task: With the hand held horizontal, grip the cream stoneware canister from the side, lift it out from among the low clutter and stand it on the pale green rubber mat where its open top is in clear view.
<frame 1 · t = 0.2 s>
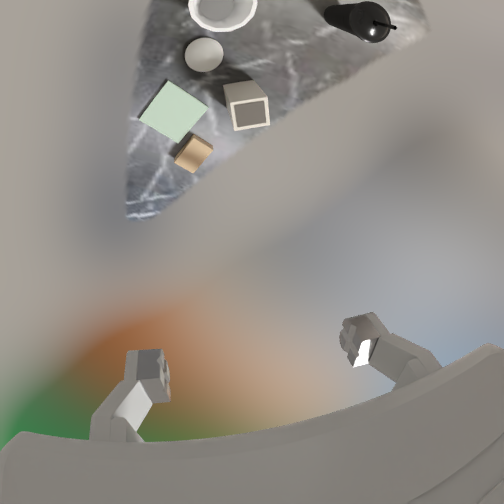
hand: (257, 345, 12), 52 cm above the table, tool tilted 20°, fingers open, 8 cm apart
canister: (240, 93, 51), on the table
oak block: (193, 150, 59), on the table
foam cup: (216, 5, 36), on the table
white pebble stone: (203, 54, 44), on the table
mat: (173, 112, 51), on the table
drinking cup: (335, 15, 40), on the table
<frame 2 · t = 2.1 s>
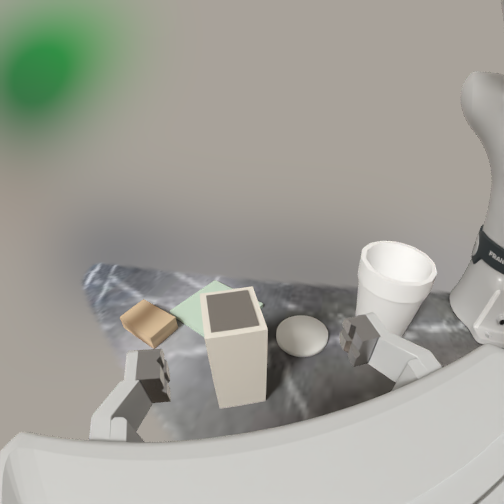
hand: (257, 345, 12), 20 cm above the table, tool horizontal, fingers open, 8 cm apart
canister: (238, 384, 32), on the table
oak block: (150, 329, 40), on the table
foam cup: (373, 340, 36), on the table
white pebble stone: (301, 338, 38), on the table
mat: (216, 310, 43), on the table
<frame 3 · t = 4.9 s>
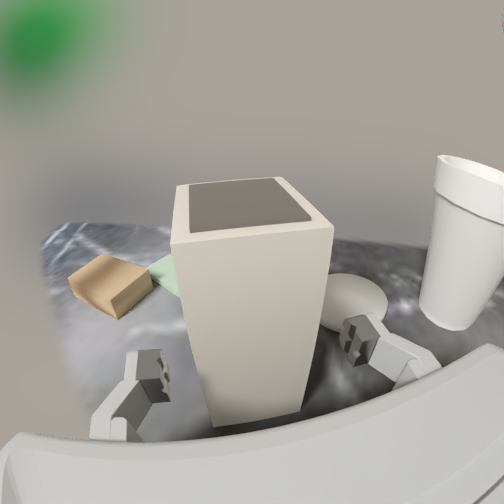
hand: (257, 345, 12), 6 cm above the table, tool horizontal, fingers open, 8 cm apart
canister: (247, 381, 17), on the table
oak block: (112, 295, 26), on the table
foam cup: (446, 309, 22), on the table
white pebble stone: (346, 307, 24), on the table
mat: (212, 269, 29), on the table
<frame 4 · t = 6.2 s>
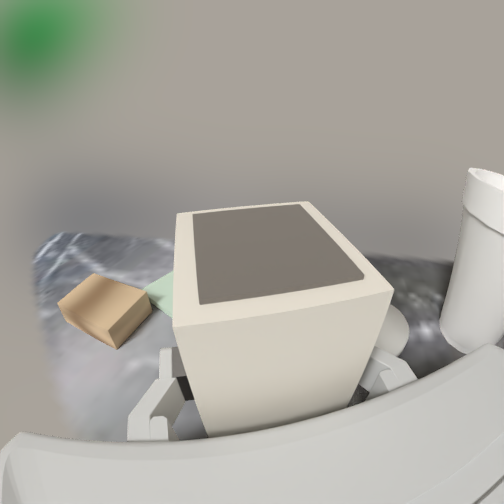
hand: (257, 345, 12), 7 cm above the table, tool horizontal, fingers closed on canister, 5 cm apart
canister: (260, 425, 15), on the table, touching gripper
oak block: (107, 319, 23), on the table
foam cup: (466, 331, 20), on the table, touching drinking cup
white pebble stone: (364, 334, 21), on the table
mat: (216, 290, 26), on the table
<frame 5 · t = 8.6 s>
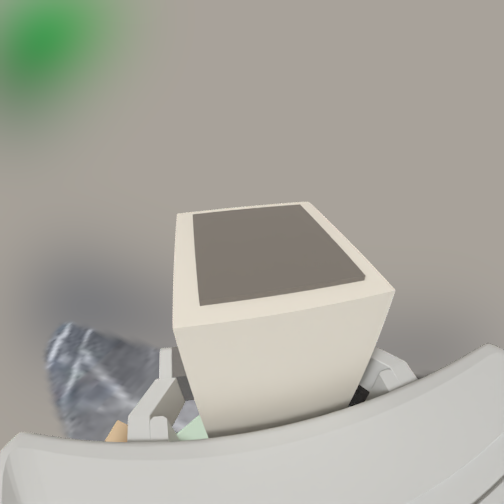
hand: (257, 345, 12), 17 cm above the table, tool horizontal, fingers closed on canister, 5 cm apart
canister: (260, 426, 15), point 10 cm above the table, touching gripper
oak block: (145, 463, 20), on the table
mat: (249, 436, 23), on the table
when the fingers open (8 cm above the table, at t = 11.0 s): canister stays where it is, resting on mat.
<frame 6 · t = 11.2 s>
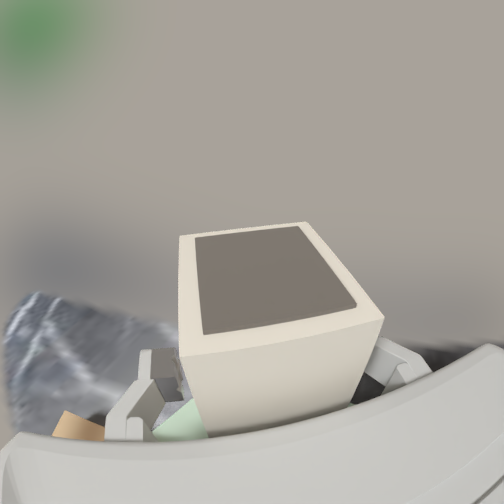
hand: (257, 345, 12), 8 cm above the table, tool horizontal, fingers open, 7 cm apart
canister: (262, 431, 15), point 1 cm above the table, touching mat
oak block: (109, 472, 12), on the table
mat: (260, 434, 15), on the table
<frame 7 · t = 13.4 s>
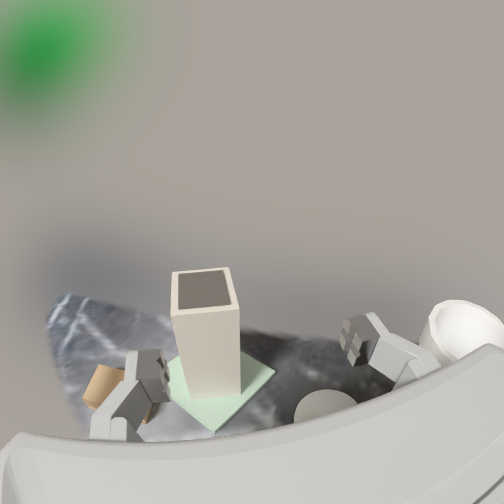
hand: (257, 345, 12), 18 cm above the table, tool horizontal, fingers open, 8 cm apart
canister: (212, 375, 30), point 1 cm above the table, touching mat
oak block: (124, 400, 26), on the table
foam cup: (415, 418, 24), on the table
white pebble stone: (326, 421, 25), on the table
mat: (212, 378, 30), on the table
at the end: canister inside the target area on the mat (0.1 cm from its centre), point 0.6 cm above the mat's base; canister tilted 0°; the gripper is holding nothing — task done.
